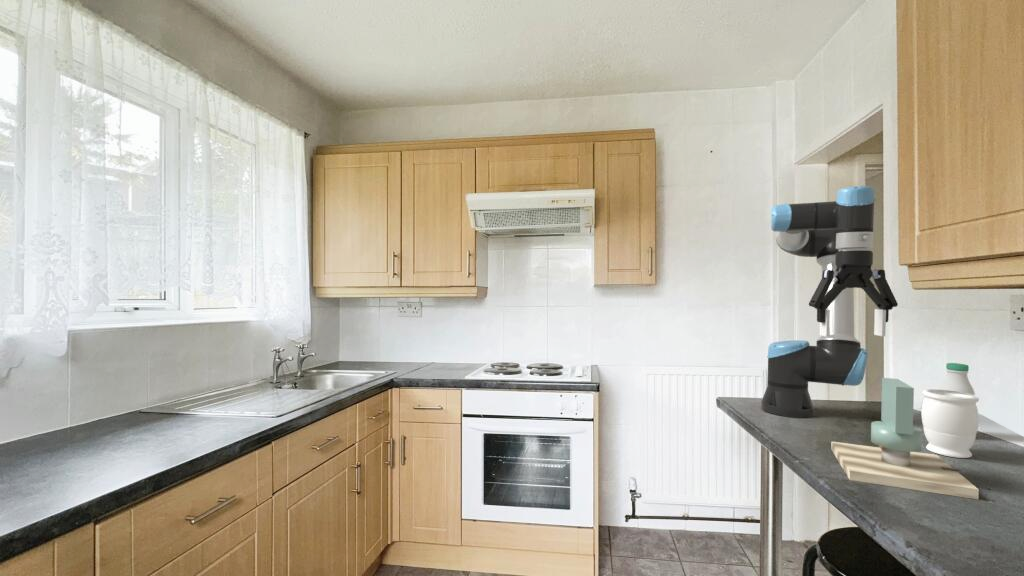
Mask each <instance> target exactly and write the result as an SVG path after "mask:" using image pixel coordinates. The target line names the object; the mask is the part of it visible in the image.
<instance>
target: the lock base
mask: <svg viewBox="0 0 1024 576" xmlns="http://www.w3.org/2000/svg"><path fill="white" fill-rule="evenodd" d="M830 443H831V444H830V446H831V447H830V448H831V449H830V450H831V451H832V453H833V454H834V457H835V458H836V460H837V461H838V463H839V465H840V466H841V468H842V470H843V469H844V470H843V471H844V473H845V474H847V475H846V476H847V478H848V479H849V481H854V482H861V483H867V484H874V485H881V486H888V487H894V488H899V489H900V488H901V489H908V490H915V491H918V492H919V491H921V492H927V493H934V494H941V495H947V496H953V497H961V498H967V499H973V500H979V496H980V495H979V488H978V487H976V485H974V484H972V482H970V481H969V480H968V479H967V478H966V477H964V476H963V475H962V474H961V472H962V470H961V469H960V468H954V467H952V466H951V465H950V464H949V463H947V462H946V461H945V460H944V459H942V458H941V457H940V456H939V454H936V453H934V454H933V453H926V452H920V451H918V452H908V451H899V450H893V449H889V448H885V447H882V446H879V445H878V446H871V445H864V444H863V445H861V444H856V443H847V442H838V441H831V442H830Z"/></svg>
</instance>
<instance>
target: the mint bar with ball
mask: <svg viewBox="0 0 1024 576" xmlns="http://www.w3.org/2000/svg"><path fill="white" fill-rule="evenodd" d="M914 395H915V388H914V387H912V386H911V385H910V384H907V383H906V382H904V381H903V380H900V379H899V378H891V377H890V378H889V377H881V412H880V413H881V418H880V420H875V421H872V422H870V423H871V424H870V441H871V442H872V443H873V444H874V445H876V446H878V447H879V446H882V447H885V448H889V449H893V450H899V451H908V452H922V451H923V433H924V430H922V429H921V428H920V427H917V426H914V404H915V403H914V400H915V399H914Z"/></svg>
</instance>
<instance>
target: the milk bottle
mask: <svg viewBox="0 0 1024 576" xmlns="http://www.w3.org/2000/svg"><path fill="white" fill-rule="evenodd" d="M945 366H946V369H945V370H946V372H947V374H946V377H945V379H944V380H943V382H942V383H941V384H940V387H939V389H938V390H949V391H957V392H962V393H968V394H972V395H975V396H976V393H975V390H974V388H973V386H972V385H971V383H970V380H969V377H968V373H969V368H970V367H969V365H968V364H965V363H957V362H955V363H954V362H948V363H946V365H945Z"/></svg>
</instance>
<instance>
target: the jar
mask: <svg viewBox="0 0 1024 576" xmlns="http://www.w3.org/2000/svg"><path fill="white" fill-rule="evenodd" d="M921 394H922V396H924V398H923V401H922V406H921V412H920V414H921V422H922V427H923V433H924V436H925V438H926V440H927V442H928V443H927V445H926V447H925V448H926V449H927V451H930V452H931V453H934V454H936V455H941V456H945V457H951V458H958V459H967V458H971V457H972V456H973V454H972V452H971V451H970V449H971V448H973V447H972V446H974V444H975V442H976V437H977V433H978V431H979V430H978V429H979V422H980V421H979V420H980V419H979V410H978V407H977V403H978V402H979V401H980V397H979V396H977V395H976V394H975V395H972V394H968V393H962V392H957V391H949V390H939V389H933V388H932V389H931V388H929V389H922V392H921Z"/></svg>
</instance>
